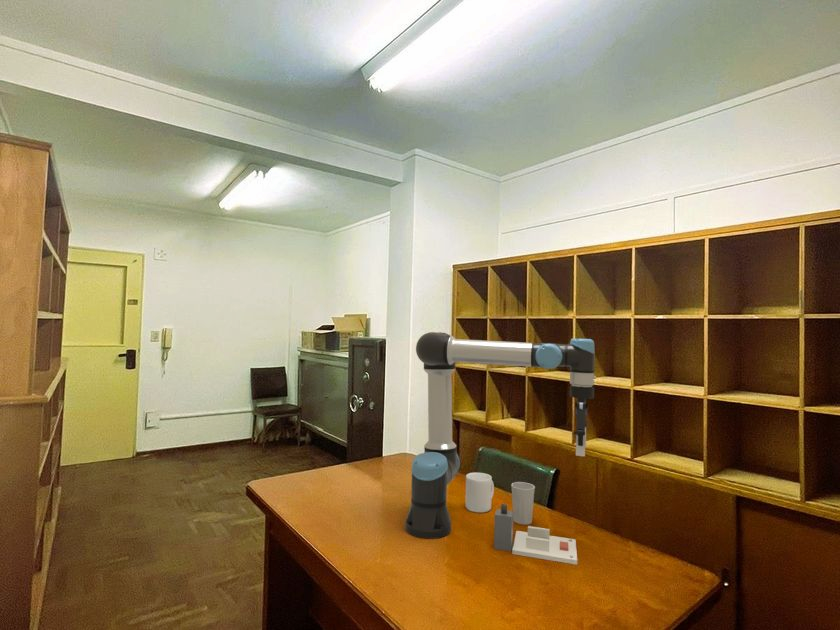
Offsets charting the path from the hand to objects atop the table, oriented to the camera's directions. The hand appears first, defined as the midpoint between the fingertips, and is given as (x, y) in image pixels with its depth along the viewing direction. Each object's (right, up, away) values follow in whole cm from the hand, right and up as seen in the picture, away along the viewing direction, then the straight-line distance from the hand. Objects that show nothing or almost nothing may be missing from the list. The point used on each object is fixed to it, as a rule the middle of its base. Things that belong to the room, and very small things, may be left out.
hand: (581, 451), depth 146 cm
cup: (-17, -27, +9) cm, 34 cm away
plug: (-27, -26, -10) cm, 39 cm away
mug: (-30, -28, +21) cm, 46 cm away
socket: (-15, -26, -11) cm, 32 cm away
